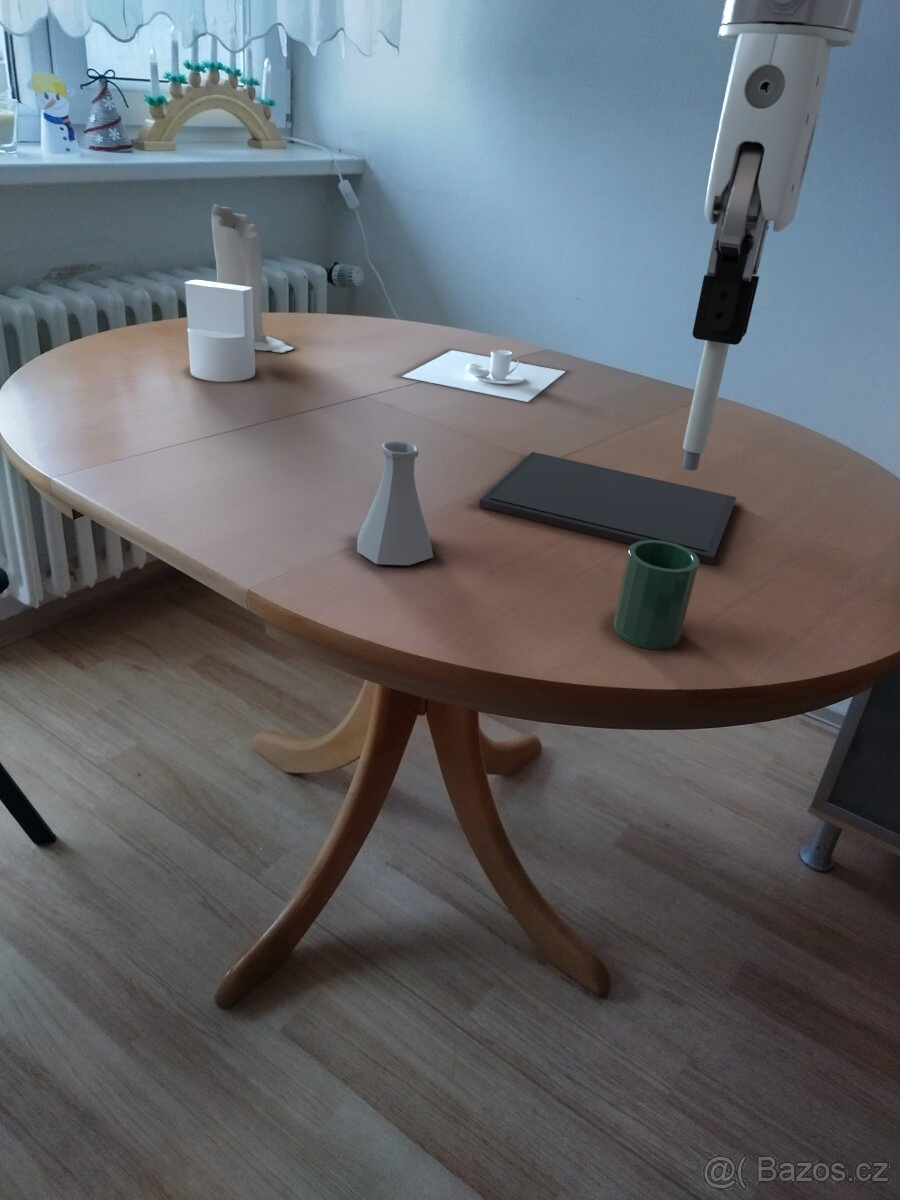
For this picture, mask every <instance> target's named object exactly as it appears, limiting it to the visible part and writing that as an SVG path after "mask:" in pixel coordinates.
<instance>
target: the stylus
mask: <svg viewBox="0 0 900 1200" xmlns="http://www.w3.org/2000/svg"><path fill="white" fill-rule="evenodd" d="M729 347H730V344H726V343H719V342H713V341H706V340H704V346H703V351H702V355H701V358H700V359H701V360H700V364H699V369H698V373H697V379H696V383H695V388H694V392H693V397H692V401H691V402H692V403H691V406H690V411H689V417H688V421H687V426H686V430H685V435H684V439H683V444H682V449H683V450H684V451H685V452H684V457H683V461H682V464H681V465H682V466H681V467H682V468H683V469H685V470H688V471H697V470H698V468H699V464H700V459H701V456H702V454H703V453H705V451H706V449H707V444H708V440H709V435H710V431H711V427H712V423H713V418H714V413H715V409H716V405H717V400H718V395H719V392H720V387H721V383H722V378H723V374H724V368H725V365H726V361H727V356H728V351H729Z"/></svg>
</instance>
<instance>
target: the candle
mask: <svg viewBox="0 0 900 1200" xmlns="http://www.w3.org/2000/svg"><path fill="white" fill-rule="evenodd" d="M211 231H212V242H213V249H214V256H215V257H214V258H215V266H216V282H217V283H225V284H232V285H240V286H248V287H252V295H253V325H254V337H256V338H254V350H257V351H265V352H267V351H270V352H273V353H280V354H281V353H286V352H289V351H290V352H291V351H292V350H294V349H295V348H294V347H293V346H290V345H287V344H286V342H284V341H282V340H280V339H278V338H274V337H272V336H269V335H266V333H265V332H264V328H263V327H264V326H263V315H262V314H263V313H262V277H263V257H262V252H261V242H260V241H261V239H260V235H259V228H258V225H257V224H253V223H251V218H250V216H249V215H248V214H242V213H234V212H233V210H232V207H229V206H221V205H219V204H213V206H212V208H211ZM263 333H264V334H263ZM262 334H263V335H262ZM260 335H262V336H260ZM258 336H260V337H258Z"/></svg>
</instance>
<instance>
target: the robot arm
mask: <svg viewBox="0 0 900 1200" xmlns="http://www.w3.org/2000/svg"><path fill="white" fill-rule="evenodd" d="M863 2H864V0H724V4H723V9H722V14H721V19H720V26H719V29H718V35H717V38H718V39H720V40H722V41H728V42H733V43H735V47H734V51H733V56H732V60H731V65H730V70H729V73H728V79H727V84H726V89H725V95H724V99H723V103H722V108H721V114H720V118H719V123H718V128H717V133H716V138H715V144H714V149H713V153H712V159H711V164H710V171H709V176H708V182H707V183H708V184H707V188H706V193H705V194H706V195H705V196H706V197H705V202H704V217H705V218H706V220H707V221H708V222H709V223H710V225H715V227H714V234H713V240H712V245H711V250H710V254H709V259H708V265H707V270H706V274H705V275H703V280H702V283H701V284H702V285H701V288H700V289H701V290H700V294H699V299H698V304H697V309H696V313H695V317H694V318H695V319H694V323H693V327H692V337H693V338H694V339H696V340H701V341H705V340H706V341H713V342H719V343H726V344H729V345H734V346H735V345H739V344H740V343H741V342H742V340H743V337H744V336H746V334H747V331H748V328H749V322H750V318H751V314H752V311H753V305H754V301H755V297H756V293H757V289H758V285H759V280H760V276H759V275H757V274H758V271H759V267H760V263H761V259H762V255H763V251H764V247H765V243H766V239H767V234H768V231H769V229H770V228H769V227H770V222H773V227H772V231H773V232H774V233H779V232H781V231H782V230H784V229H786V228H787V227H788V226H789V225H790V224H792V222H793V221H794V220H795V218H796V213H797V208H798V205H799V204H798V203H799V199H800V195H801V191H802V186H803V182H804V177H805V173H806V169H807V165H808V161H809V157H810V153H811V149H812V145H813V141H814V140H813V139H814V136H815V132H816V127H817V122H818V119H819V115H820V110H821V106H822V102H823V96H824V92H825V86H826V81H827V77H828V72H829V71H828V70H829V64H830V60H831V59H830V58H831V52H832V48H846V47H850V46H853V43H854V39H855V35H856V34H855V33H856V30H857V27H858V26H857V25H858V22H859V18H860V14H861V10H862V6H863Z"/></svg>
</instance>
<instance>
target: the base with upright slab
mask: <svg viewBox="0 0 900 1200" xmlns="http://www.w3.org/2000/svg"><path fill="white" fill-rule="evenodd" d="M184 288H185V289H184V290H185V305H186V318H187V341H188V354H189V356H188V357H189V368H190V369H189V371H190V374H191V376H193V377H194V378H197V379H201V380H204V381H210V382H221V383H223V382H224V383H225V382H227V383H229V382H241V381H245V380H249V379H251V378H254V376H255V375H256V355H255V349H254V325H253V295H252V287H248V286H240V285H232V284H225V283H217V281H216V282H215V281H208V280H201V279H191V280H188V281H185V282H184Z"/></svg>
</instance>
